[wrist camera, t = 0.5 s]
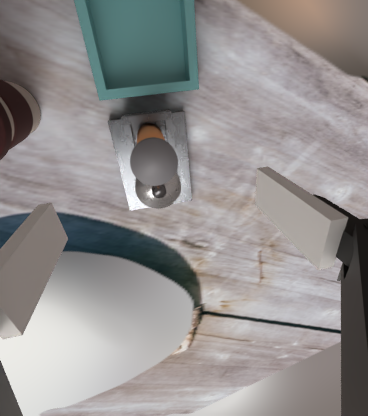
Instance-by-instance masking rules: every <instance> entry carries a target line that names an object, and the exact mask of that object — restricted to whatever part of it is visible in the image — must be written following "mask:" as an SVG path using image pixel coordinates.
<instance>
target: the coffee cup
mask: <svg viewBox="0 0 368 416" xmlns="http://www.w3.org/2000/svg"><path fill="white" fill-rule="evenodd" d="M40 116H41V115H40V109H39V106H38V104H37V102H36V100H35V99H34V98H33V96H32V95H31V94H30V93H29V92H28V91H27V90H25V89H24V88H23V87H21V86H19V85H17V84H15V83H12V82H9V81H3V80H1V79H0V160H1V159H2V158H3V157H4V156H5V155H6V153H7V152H8V150H9V149H11V148H12V147H14V146H15V145H17V144H18V143H20V142H21V141H23V140H24V139H26V138H27V137H28V135H29V134H30V133H32V132H33V131H35V130H36V128H37V127H38V125H39V123H40Z"/></svg>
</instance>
